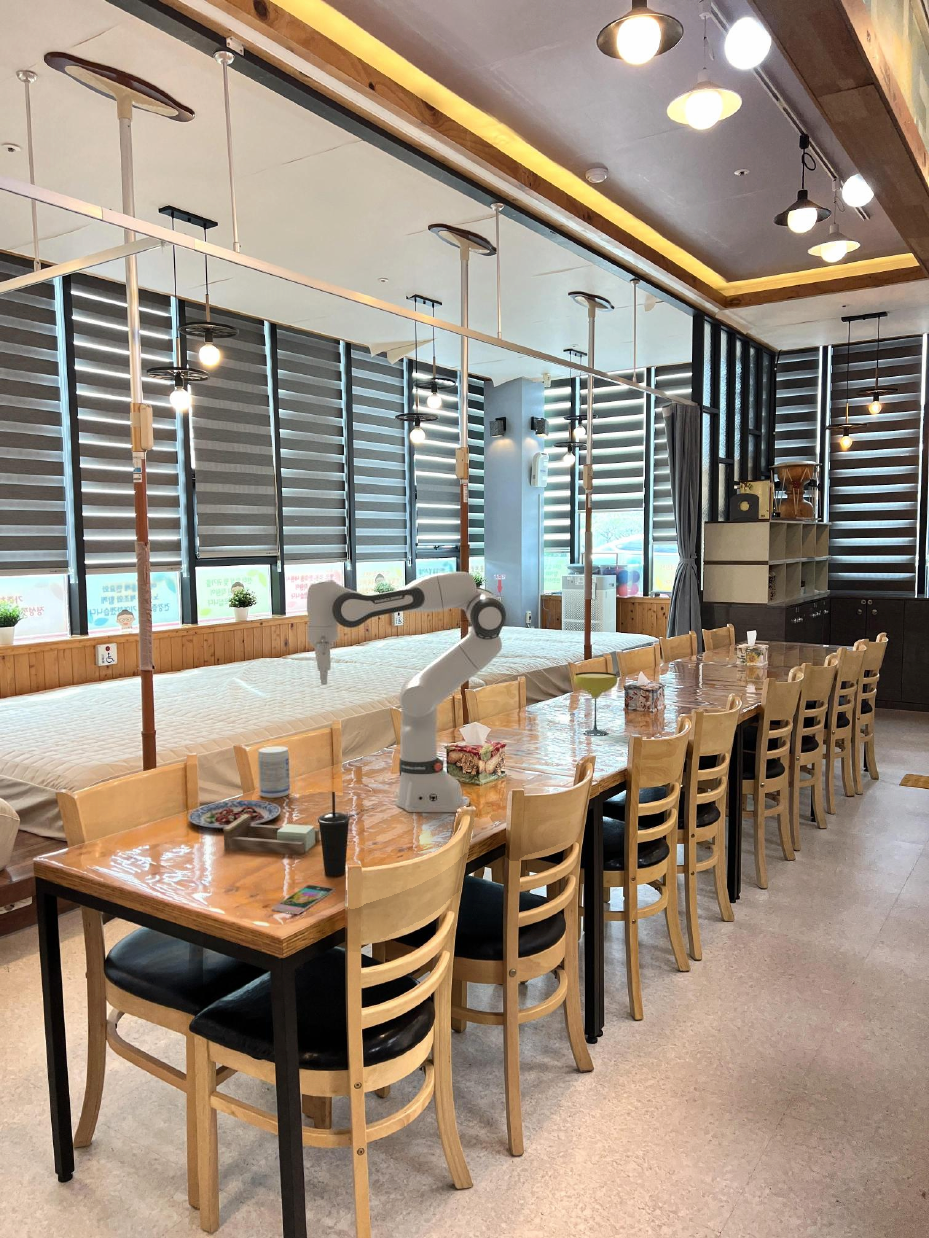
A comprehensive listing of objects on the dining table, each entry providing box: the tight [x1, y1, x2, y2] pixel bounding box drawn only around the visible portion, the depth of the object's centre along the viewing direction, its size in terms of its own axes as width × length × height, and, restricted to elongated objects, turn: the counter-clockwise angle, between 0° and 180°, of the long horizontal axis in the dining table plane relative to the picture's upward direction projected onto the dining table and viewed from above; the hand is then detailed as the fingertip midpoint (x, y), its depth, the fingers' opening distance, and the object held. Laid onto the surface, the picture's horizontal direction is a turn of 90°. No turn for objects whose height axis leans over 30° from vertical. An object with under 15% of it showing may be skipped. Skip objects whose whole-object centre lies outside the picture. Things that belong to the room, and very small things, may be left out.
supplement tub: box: [257, 745, 291, 799], centre depth 275 cm, size 10×10×15 cm
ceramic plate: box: [188, 799, 282, 829], centre depth 250 cm, size 26×26×3 cm
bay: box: [222, 814, 321, 856], centre depth 228 cm, size 22×12×6 cm, turn 77°
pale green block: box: [276, 823, 316, 852], centre depth 226 cm, size 8×7×5 cm
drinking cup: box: [317, 791, 351, 878], centre depth 206 cm, size 8×8×20 cm
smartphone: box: [271, 884, 336, 915], centre depth 192 cm, size 7×1×15 cm
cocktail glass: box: [573, 671, 618, 735], centre depth 364 cm, size 18×18×25 cm
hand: (323, 682), depth 254 cm, fingers open, 8 cm apart
